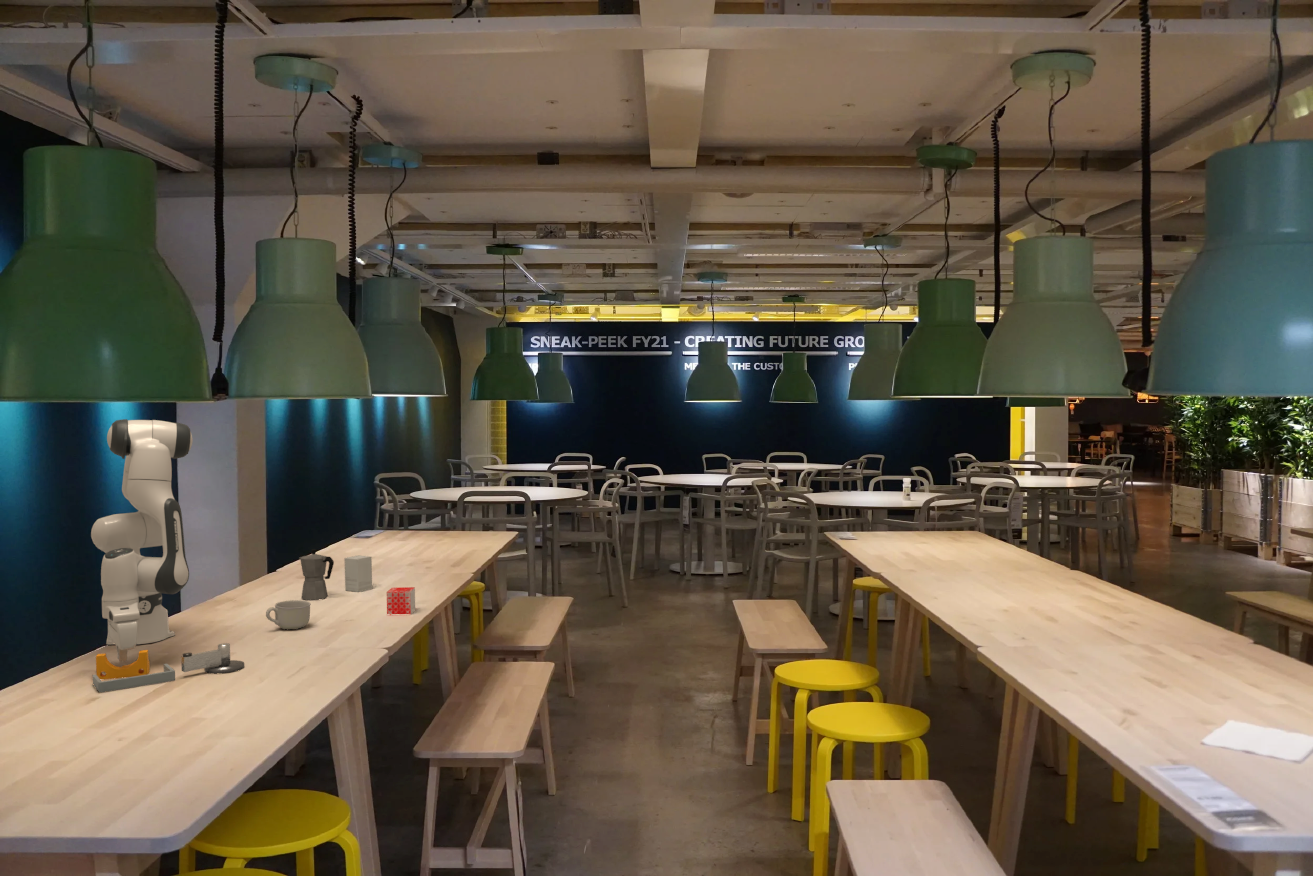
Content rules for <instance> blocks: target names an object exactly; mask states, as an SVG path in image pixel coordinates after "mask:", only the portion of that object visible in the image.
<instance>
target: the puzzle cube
mask: <svg viewBox="0 0 1313 876" xmlns="http://www.w3.org/2000/svg"><path fill="white" fill-rule="evenodd" d="M414 610H415V611H416V587H413V586H411V587H410V586H409V587H408V586H407V587H391V588H389V590H387V591H386V615H387V614H411V613H412V612H413V611H414ZM415 611H414V612H415ZM414 612H413V613H414ZM413 613H412V614H413ZM412 614H411V615H412Z"/></svg>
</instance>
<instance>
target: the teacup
mask: <svg viewBox="0 0 1313 876" xmlns="http://www.w3.org/2000/svg"><path fill="white" fill-rule="evenodd" d="M272 611H274V618H272V616H271V615H270V614H271V612H272ZM310 616H311V602H310V601H308V600H302V599H301V600H300V599H295V600H294V599H293V600H291V599H290V600H283V601H278V602H276V603H275V604H274V606H273V607H269V608H267V610H266V611H265V617H266V619H268V620H269V621H270V622H272V623H274V624H275V625H276V626H278V627H280V629H282V630H285V629H287V630H286V631H289V630H288V629H296V630H299V629H298V628H301V627H303V628H304V627H305V626H306V625H308V624H309V622H310V618H311V617H310ZM301 629H302V628H301Z"/></svg>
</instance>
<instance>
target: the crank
mask: <svg viewBox="0 0 1313 876" xmlns="http://www.w3.org/2000/svg"><path fill="white" fill-rule="evenodd" d="M180 659H181V660H180V661H181V665H180V666H181V672H184V673H187V672H192V671H196V670H203V669H204V668H208V667H213V666H218V665H219V666H226V665H230V660H231V643H227V642H226V643H225V642H224V643H218V644H217V649H213V650H207V651H203V652H198V653H192V652H184V653H182V656H181V657H180Z"/></svg>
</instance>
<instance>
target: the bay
mask: <svg viewBox="0 0 1313 876" xmlns="http://www.w3.org/2000/svg"><path fill="white" fill-rule="evenodd" d="M174 681H176V670H175V669H173V668H172V667H171V666H170V664H168V663H163V671H160V672H153V673H149V674H147V675H140V676H134V677H126V678H115V679H107V680H100V679H99V677H98V676H97V675H96V673H95V674H92V685H93V684H94V685H93V686H95V687H96V688H95V687H94V688H95V689H96V691H97V690H98V691H99V692H101V693H106V692H105V691H108V692H112V691H113V692H114V691H118V690H125V689H130V688H137V687H138V688H139V687H143V686H150V685H156V684H162V683H168V682H174ZM98 691H97V692H98ZM99 692H98V693H99Z"/></svg>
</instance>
